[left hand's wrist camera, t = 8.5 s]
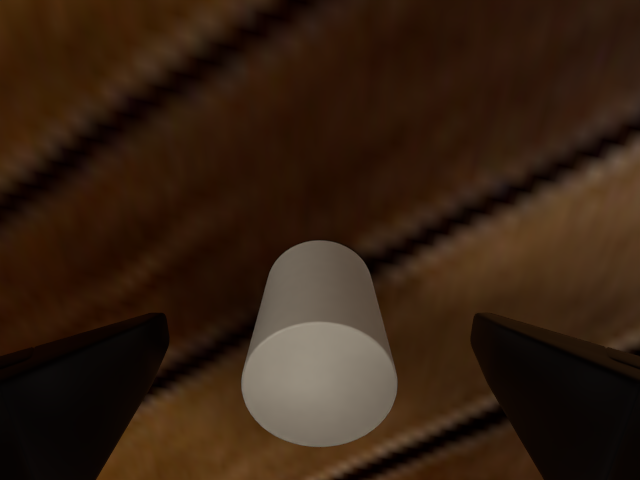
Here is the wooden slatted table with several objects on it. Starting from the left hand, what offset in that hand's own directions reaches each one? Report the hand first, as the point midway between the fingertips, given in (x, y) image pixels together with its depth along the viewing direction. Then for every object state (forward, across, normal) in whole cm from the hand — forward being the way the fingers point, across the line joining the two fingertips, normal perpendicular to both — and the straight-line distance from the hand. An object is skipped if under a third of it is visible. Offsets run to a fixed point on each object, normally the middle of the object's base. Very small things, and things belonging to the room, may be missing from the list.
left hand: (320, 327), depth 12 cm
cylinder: (+2, 0, 0) cm, 2 cm away
